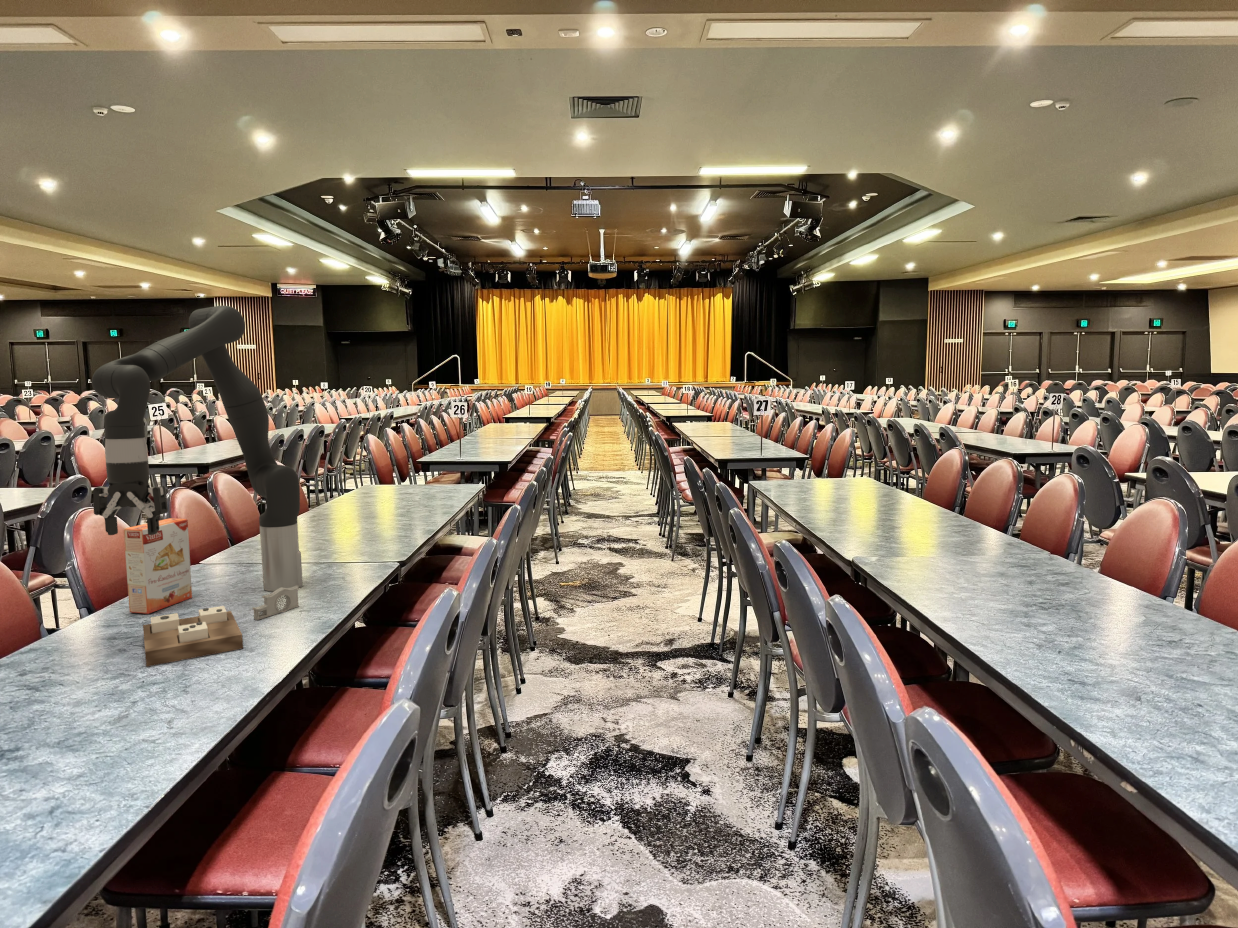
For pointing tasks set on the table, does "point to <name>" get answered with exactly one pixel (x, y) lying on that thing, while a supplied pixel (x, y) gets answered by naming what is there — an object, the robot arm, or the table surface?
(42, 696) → the table surface
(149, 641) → the key panel
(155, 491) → the robot arm
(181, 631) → the key three dots
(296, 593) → the lattice window wall
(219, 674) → the table surface
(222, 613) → the key two dots
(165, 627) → the key one dot
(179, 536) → the cracker box
